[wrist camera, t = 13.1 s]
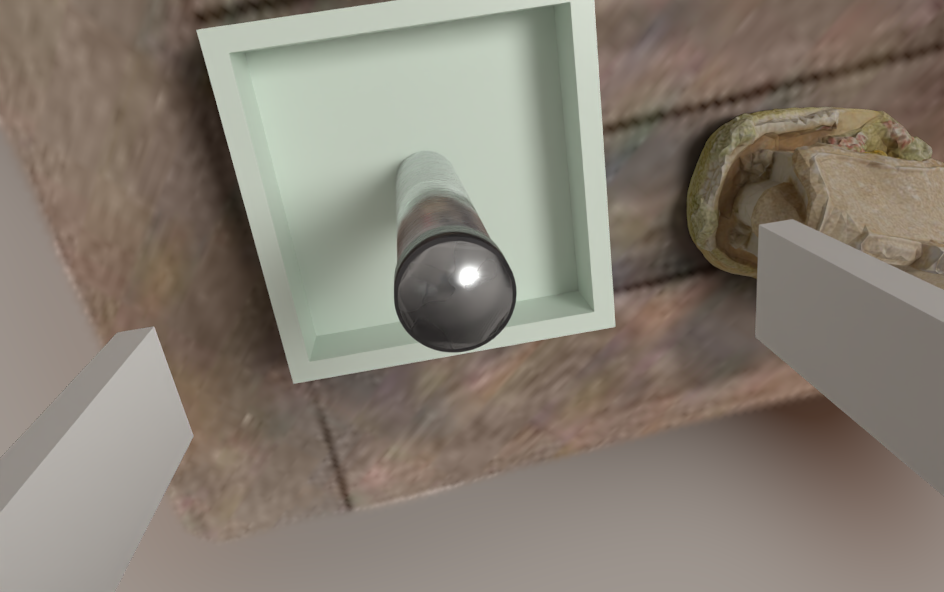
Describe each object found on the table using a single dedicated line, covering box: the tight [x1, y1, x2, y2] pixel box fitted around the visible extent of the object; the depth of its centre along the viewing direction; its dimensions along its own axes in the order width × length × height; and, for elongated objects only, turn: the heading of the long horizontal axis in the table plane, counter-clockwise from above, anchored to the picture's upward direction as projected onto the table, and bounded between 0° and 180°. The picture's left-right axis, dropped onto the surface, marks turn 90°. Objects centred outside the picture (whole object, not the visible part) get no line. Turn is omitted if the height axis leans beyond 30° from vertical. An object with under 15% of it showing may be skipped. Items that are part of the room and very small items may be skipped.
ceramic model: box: [687, 107, 944, 290], centre depth 31 cm, size 14×11×10 cm
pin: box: [394, 151, 517, 353], centre depth 24 cm, size 3×3×16 cm
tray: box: [197, 0, 615, 384], centre depth 31 cm, size 16×16×4 cm
